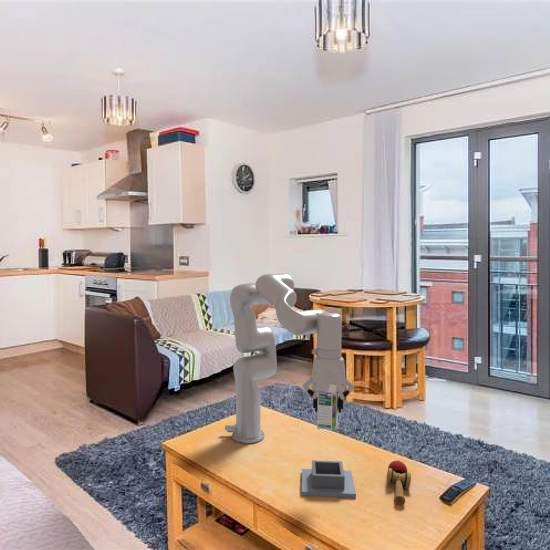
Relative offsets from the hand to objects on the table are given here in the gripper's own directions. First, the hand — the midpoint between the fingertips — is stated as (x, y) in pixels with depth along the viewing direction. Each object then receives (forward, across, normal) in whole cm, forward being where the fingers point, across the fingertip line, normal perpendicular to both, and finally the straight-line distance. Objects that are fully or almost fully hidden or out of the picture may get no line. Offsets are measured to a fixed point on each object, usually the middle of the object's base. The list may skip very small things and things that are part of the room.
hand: (327, 410), depth 139 cm
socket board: (+24, 0, 0) cm, 24 cm away
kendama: (+24, +22, -1) cm, 32 cm away
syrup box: (+5, 0, 0) cm, 5 cm away
